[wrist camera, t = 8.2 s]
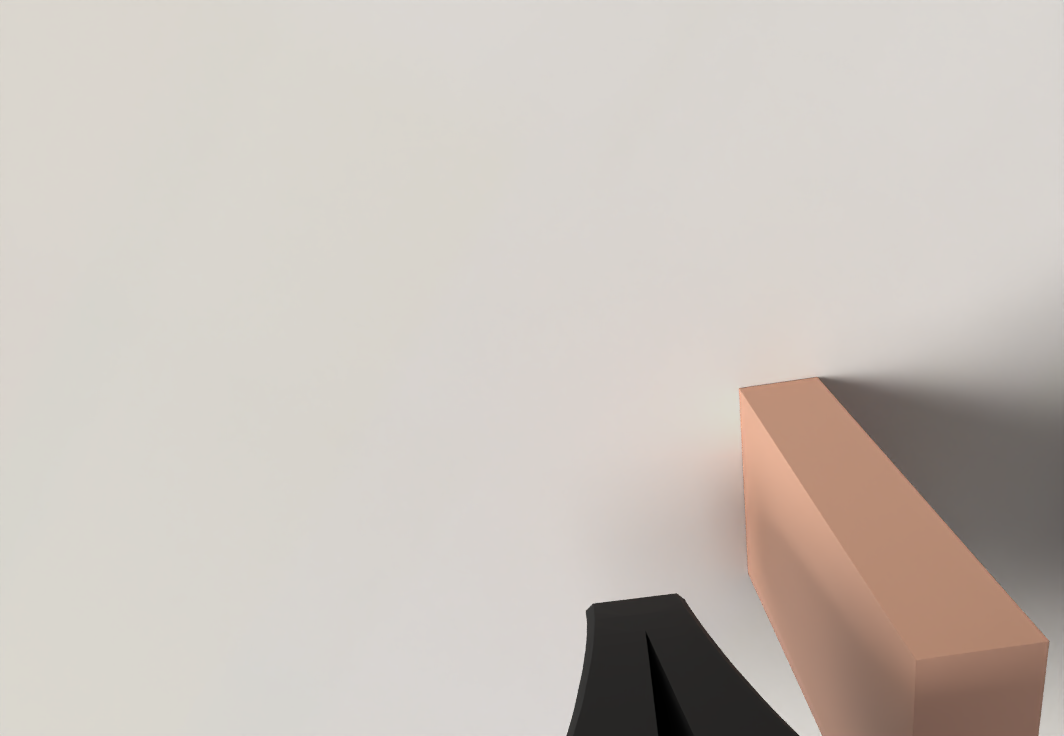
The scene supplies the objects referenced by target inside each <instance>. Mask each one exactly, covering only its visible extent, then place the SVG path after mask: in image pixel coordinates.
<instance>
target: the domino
mask: <svg viewBox="0 0 1064 736" xmlns="http://www.w3.org/2000/svg"><path fill="white" fill-rule="evenodd" d="M739 395H740V416H741V437H742V457H743V478H744V499H745V519H746V540H747V560H748V574H749V576H750V579H751V581H752V583H753V585H754V587H755V590H756V592H757V594H758V596H759V598H760V600H761V603H762V605H763V607H764V609H765V611H766V614H767V616H768V618H769V620H770V622H771V625H772V627H773V629H774V631H775V633H776V636H777V638H778V640H779V642H780V644H781V646H782V649H783V651H784V653H785V655H786V657H787V660H788V662H789V664H790V666H791V668H792V671H793V673H794V675H795V677H796V679H797V681H798V684H799V686H800V688H801V690H802V692H803V695H804V697H805V699H806V701H807V703H808V706H809V708H810V710H811V712H812V714H813V716H814V719H815V721H816V723H817V725H818V727H819V730H820V732H821V734H822V736H1038V734H1039V725H1040V717H1041V708H1042V700H1043V691H1044V682H1045V674H1046V665H1047V657H1048V648H1049V640H1048V639H1047V638H1046V637H1045V636H1044V635H1043V634H1042V632H1041V631H1040V630H1039V629H1038V628H1037V627H1036V626H1035V624H1034V623H1033V622H1032V621H1031V620H1030V619H1029V618H1028V616H1027V615H1026V614H1025V613H1024V612H1023V611H1022V610H1021V608H1020V607H1019V606H1018V605H1017V604H1016V603H1015V602H1014V600H1013V599H1012V598H1011V597H1010V596H1009V595H1008V594H1007V593H1006V591H1005V590H1004V589H1003V588H1002V587H1001V586H1000V585H999V583H998V582H997V581H996V580H995V579H994V578H993V577H992V575H991V574H990V573H989V572H988V571H987V570H986V569H985V567H984V566H983V565H982V564H981V563H980V562H979V561H978V559H977V558H976V557H975V556H974V555H973V554H972V553H971V552H970V550H969V549H968V548H967V547H966V546H965V545H964V544H963V542H962V541H961V540H960V539H959V538H958V537H957V536H956V534H955V533H954V532H953V531H952V530H951V529H950V528H949V526H948V525H947V524H946V523H945V522H944V521H943V520H942V519H941V517H940V516H939V515H938V514H937V513H936V512H935V511H934V509H933V508H932V507H931V506H930V505H929V504H928V503H927V501H926V500H925V499H924V498H923V497H922V496H921V495H920V493H919V492H918V491H917V490H916V489H915V488H914V487H913V485H912V484H911V483H910V482H909V481H908V480H907V479H906V478H905V476H904V475H903V474H902V473H901V472H900V471H899V470H898V468H897V467H896V466H895V465H894V464H893V463H892V462H891V460H890V459H889V458H888V457H887V456H886V455H885V454H884V452H883V451H882V450H881V449H880V448H879V447H878V446H877V445H876V443H875V442H874V441H873V440H872V439H871V438H870V437H869V435H868V434H867V433H866V432H865V431H864V430H863V429H862V427H861V426H860V425H859V424H858V423H857V422H856V421H855V419H854V418H853V417H852V416H851V415H850V414H849V413H848V411H847V410H846V409H845V408H844V407H843V406H842V405H841V404H840V402H839V401H838V400H837V399H836V398H835V397H834V396H833V394H832V393H831V392H830V391H829V390H828V389H827V388H826V386H825V385H824V384H823V383H822V382H821V381H820V380H819V378H818V377H815V378H808V379H801V380H794V381H787V382H780V383H773V384H766V385H759V386H752V387H745V388H739Z"/></svg>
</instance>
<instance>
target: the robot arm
mask: <svg viewBox="0 0 1064 736" xmlns="http://www.w3.org/2000/svg"><path fill="white" fill-rule="evenodd" d="M586 617H587V641H586V651H585V658H584V664H583V671H582V676H581V680H580V685H579V689H578V694H577V699H576V703H575V708H574V712H573V716H572V719H571V723H570V726H569V729H568V733H567V736H799V735H798V734H797V733H796V732H795V731H794V730H793V729H792V728H791V727H790V726H789V725H788V724H787V723H786V722H785V721H784V720H783V719H782V718H781V717H780V716H779V715H778V714H777V713H776V712H775V711H774V710H773V709H772V708H771V707H770V705H769V704H768V703H767V702H766V701H765V700H764V699H763V698H762V697H761V696H760V695H759V694H758V692H757V691H756V690H755V689H754V688H753V687H752V686H751V685H750V683H749V682H748V681H747V680H746V679H745V678H744V677H743V676H742V674H741V673H740V672H739V671H738V670H737V669H736V668H735V666H734V665H733V664H732V663H731V662H730V660H729V659H728V658H727V657H726V656H725V654H724V653H723V652H722V651H721V649H720V648H719V647H718V646H717V644H716V643H715V642H714V640H713V639H712V638H711V637H710V635H709V634H708V633H707V631H706V630H705V629H704V627H703V626H702V625H701V623H700V622H699V620H698V619H697V618H696V616H695V615H694V613H693V612H692V610H691V609H690V607H689V606H688V604H687V603H686V601H685V599H683V598H682V597H681V596H679V595H678V594H677V593H676V594H668V595H660V596H652V597H644V598H635V599H627V600H619V601H611V602H603V603H595V604H592V605H591V606H590V607H589V608H588V609H587V610H586Z"/></svg>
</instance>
